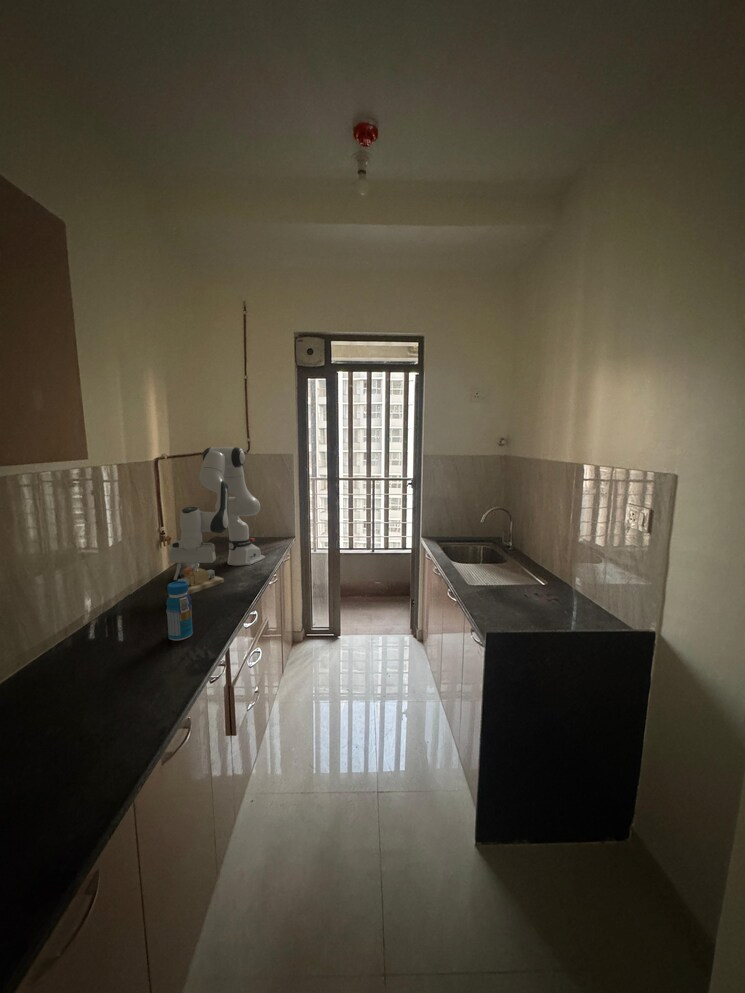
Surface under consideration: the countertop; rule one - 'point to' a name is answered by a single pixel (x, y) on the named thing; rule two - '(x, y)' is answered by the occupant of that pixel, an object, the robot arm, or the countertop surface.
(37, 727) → the countertop surface
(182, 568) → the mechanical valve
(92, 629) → the countertop surface
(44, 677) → the countertop surface
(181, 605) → the beverage bottle
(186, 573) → the valve lever
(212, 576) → the pipe and valve body
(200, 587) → the valve board
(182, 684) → the countertop surface
